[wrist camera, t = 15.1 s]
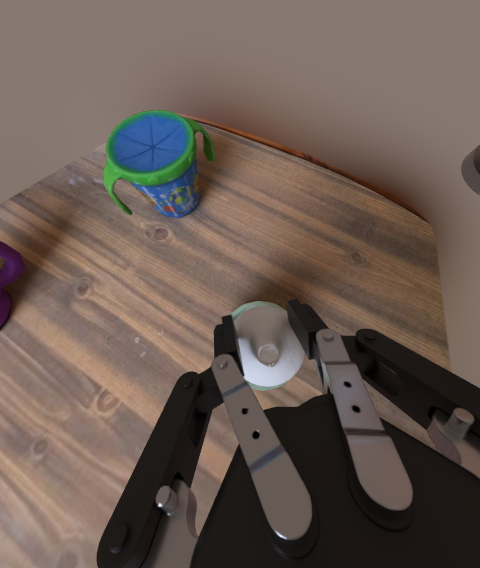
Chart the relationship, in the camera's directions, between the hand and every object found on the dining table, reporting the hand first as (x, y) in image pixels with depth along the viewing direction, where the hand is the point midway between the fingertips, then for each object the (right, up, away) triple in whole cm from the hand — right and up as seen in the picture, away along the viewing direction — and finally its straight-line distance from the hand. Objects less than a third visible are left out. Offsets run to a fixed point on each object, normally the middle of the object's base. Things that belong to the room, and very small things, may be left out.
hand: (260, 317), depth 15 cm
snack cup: (-12, +16, +18) cm, 27 cm away
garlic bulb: (+1, -3, +3) cm, 5 cm away
